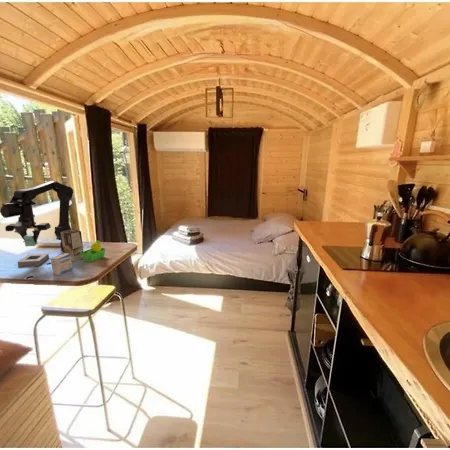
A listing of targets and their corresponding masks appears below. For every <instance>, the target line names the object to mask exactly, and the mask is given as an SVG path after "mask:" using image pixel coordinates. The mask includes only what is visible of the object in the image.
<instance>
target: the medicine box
mask: <svg viewBox="0 0 450 450" xmlns="http://www.w3.org/2000/svg"><path fill="white" fill-rule="evenodd" d="M50 264H51V270H52V275H54V274H55V275H56V276H62V275H64V274H66V273H67V271H68V272H69V270H70V271H71V269H72V270H73V263H72V260H71V254H68V253H64V252H63V253H60V254H58V255H56V256H54V257H51V258H50ZM65 272H66V273H65ZM63 273H64V274H63ZM61 274H62V275H61Z"/></svg>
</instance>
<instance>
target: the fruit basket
mask: <svg viewBox="0 0 450 450" xmlns="http://www.w3.org/2000/svg"><path fill="white" fill-rule="evenodd" d="M106 250H107V248H104V247H102V244H101V240H96V241H95V242H93V243H92V244H91V245H90V249H87V250H83V252H81V254H82V256H83V258H82V259H83V260H84V262H90V263H93V262H96V261H97V260H100V259H102V258H104V257H105V253H106Z"/></svg>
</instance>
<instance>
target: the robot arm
mask: <svg viewBox="0 0 450 450" xmlns="http://www.w3.org/2000/svg"><path fill="white" fill-rule="evenodd" d="M73 189H74V188H72V187H71V186H67V185H65V184H63V183H60V182H58V181H55V180H49V181H47V182H45V183H41V184H39V185H35V186H33V187H30V188H22V189H16V190H15V191H14V192H13V196H12V197H11V199H10V201H9V203H2V206H1V207H0V215H1V216H2V217H3V218H5V219H8V218H13V217H18V220H17V221H16V223H10V224H7V225H6V226H5V227H4V228H5V229H4V230H5V232H13V231H14V230H15V231H14V233H16V234H18V235H20V236H21V238H22V239H23V240H24V236H25V235H27V234H28V229H33V230H32V231H31V233H32V234H34V241H35V242H37V243H38V239H39V236H40V233H41V231H47V230H49V229H51V228H52V226H51V224H50V223H49V222H41V223H38V224H37V222H36V221H35V217H36V215H35V214H34V210H33V206H34V205H36V202H35V201H33V200H34V199H36V197H38V196H39V195H41V194H44V193H46V192H49V191H54V192H56V196H57V198H58V200H59V213H58V215H59V216H58V217H59V218H58V221H59V222H58V225H57V226H54V233H53V234H55V237H56V238H57V239H58V241H60V242H59V245H60V251H62V252H63V245H62V239H61V232H62V231H66V230H70V229H72V228H71V226H70V224H69V223H70V222H69V221H70V220H69V219H70V201H71V200H72V198H73V195H74V190H73Z"/></svg>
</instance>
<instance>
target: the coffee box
mask: <svg viewBox="0 0 450 450" xmlns="http://www.w3.org/2000/svg"><path fill="white" fill-rule="evenodd" d="M82 236H83V235H82V231H81V230H78V229H77V230H76V229H73V228H71V229H70V230H66V231H62V232H61V239H62V245H63V251H62V252H63V253H68V254H71V262H72V261H73V262H77V261H79V260H82V259H84V258H83V256H82V254H81V252H84V244H83V237H82Z"/></svg>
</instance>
